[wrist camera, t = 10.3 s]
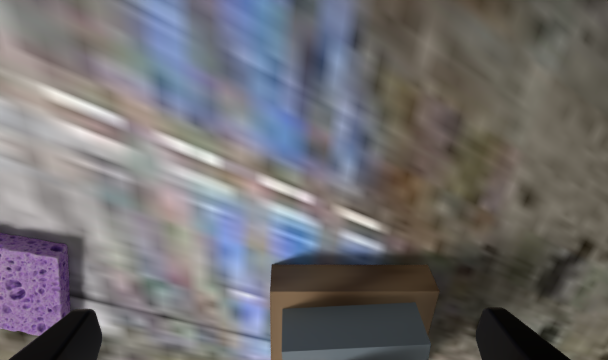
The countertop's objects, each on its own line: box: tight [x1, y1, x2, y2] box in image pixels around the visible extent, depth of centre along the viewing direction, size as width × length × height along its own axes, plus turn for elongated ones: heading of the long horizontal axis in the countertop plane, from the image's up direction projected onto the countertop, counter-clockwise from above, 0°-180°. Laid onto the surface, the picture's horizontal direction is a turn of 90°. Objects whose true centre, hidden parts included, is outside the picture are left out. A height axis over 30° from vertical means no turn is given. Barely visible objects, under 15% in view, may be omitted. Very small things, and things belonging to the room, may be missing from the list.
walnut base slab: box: [270, 264, 440, 360], centre depth 27 cm, size 10×10×3 cm
